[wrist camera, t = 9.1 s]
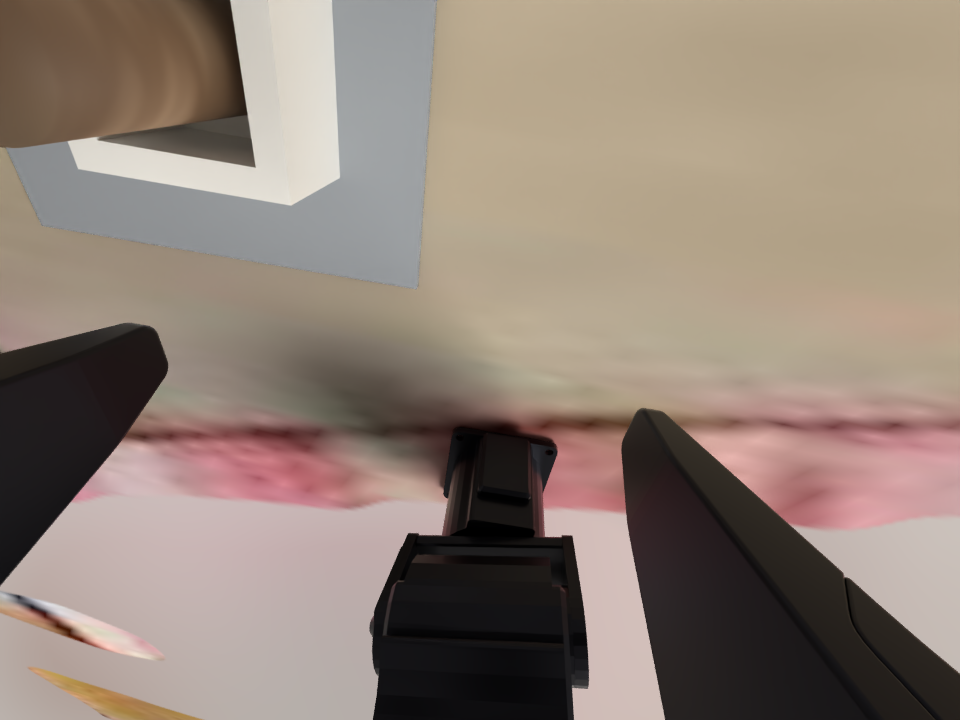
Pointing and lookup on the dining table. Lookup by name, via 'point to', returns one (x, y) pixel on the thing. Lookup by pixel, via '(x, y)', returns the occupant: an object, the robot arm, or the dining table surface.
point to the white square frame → (249, 116)
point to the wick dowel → (114, 67)
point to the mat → (318, 217)
